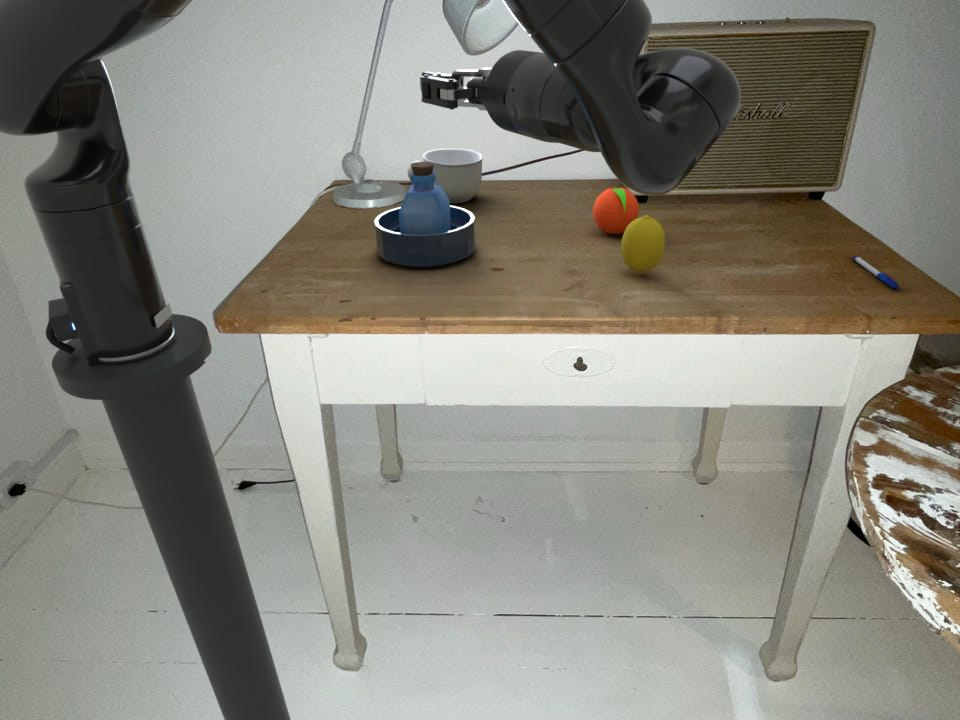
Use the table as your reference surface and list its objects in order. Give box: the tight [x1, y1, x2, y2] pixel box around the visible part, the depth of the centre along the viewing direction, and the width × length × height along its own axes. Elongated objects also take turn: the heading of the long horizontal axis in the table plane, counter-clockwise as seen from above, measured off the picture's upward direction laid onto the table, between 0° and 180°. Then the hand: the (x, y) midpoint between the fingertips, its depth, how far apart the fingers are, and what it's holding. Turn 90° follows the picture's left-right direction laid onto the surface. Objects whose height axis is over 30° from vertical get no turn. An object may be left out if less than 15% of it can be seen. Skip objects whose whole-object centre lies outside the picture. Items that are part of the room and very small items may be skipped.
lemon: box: [620, 214, 666, 275], centre depth 82 cm, size 6×6×8 cm
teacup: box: [407, 147, 484, 204], centre depth 113 cm, size 14×11×8 cm
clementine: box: [592, 186, 640, 235], centre depth 96 cm, size 8×7×7 cm
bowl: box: [373, 205, 477, 268], centre depth 91 cm, size 14×14×5 cm
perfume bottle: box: [399, 161, 451, 234], centre depth 89 cm, size 6×6×12 cm
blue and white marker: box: [852, 255, 900, 291], centre depth 82 cm, size 10×1×1 cm, turn 1°
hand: (458, 79), depth 72 cm, fingers open, 8 cm apart
